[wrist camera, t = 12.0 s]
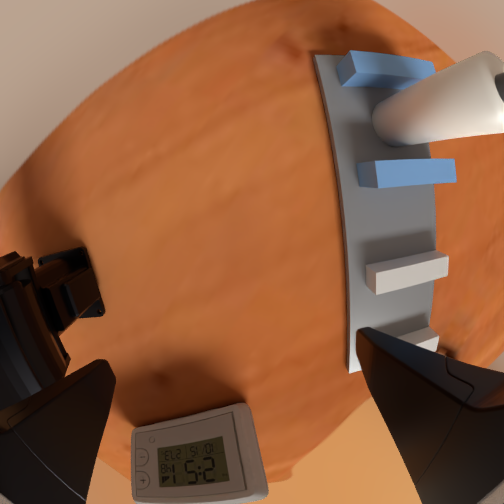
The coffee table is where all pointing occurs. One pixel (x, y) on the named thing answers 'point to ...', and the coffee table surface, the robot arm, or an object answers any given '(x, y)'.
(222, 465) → the digital clock
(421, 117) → the bottle
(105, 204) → the coffee table surface
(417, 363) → the robot arm
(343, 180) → the slotted divider tray
